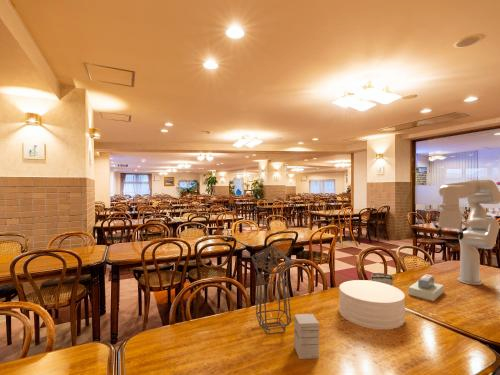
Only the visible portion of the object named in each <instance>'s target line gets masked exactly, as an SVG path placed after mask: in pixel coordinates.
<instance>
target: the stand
mask: <svg viewBox="0 0 500 375" xmlns="http://www.w3.org/2000/svg"><path fill="white" fill-rule="evenodd" d="M443 293H444V284H440V283H435V282H434V286H433V287H431V288H430V289H429V290H428V289H424V288H420V287H418V280H417V281H416V282H415V283H413V284H410V286H409V287H408V295H409V296H414V297H417V298H419V299H420V298H421V299H423V300H429V301H432V302H434V301H435V300H437V299H438V298H439V297H440V296H441V295H442V294H443Z"/></svg>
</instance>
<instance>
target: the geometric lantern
mask: <svg viewBox="0 0 500 375" xmlns="http://www.w3.org/2000/svg"><path fill="white" fill-rule="evenodd" d="M275 252H276V253H275ZM269 254H270V255H269ZM279 257H282V258H283V259H284V261H285V263H284V264H283V263H282V264H279V262H278V260H277V259H278V258H279ZM250 258H251V261H252V264H253V265H254V266H253V267H254V269H255V270H256V273H257V275H256V276H257V277H256V278H257V279H256V301H255V302H256V303H255V304H256V306H255V316H256V318H257V319H256V320H257V321H258V324H259V326H260V327H261V328H263V330H264V332H265V334H267V335H274V334H282V333H286V330H287V329H286V327H287V326H290V324H291V323H292V316H291V314H292V313H291V304H290V292H289V291H290V290H289V280H288V278H289V271H287V274H286V275H287V276H285V275H284V273H285V270H286V268H287V269H289V268H290V267H291V266H292V265H293V264H295V261H294V260H292V259H291V258H290V257H288V256H287V255H286V254H285V253H284V252H282V251H281V250H279V249H278V248H276V247H275V246H274V245H273V246H272V245H271V246H268V247H266V248H264V249H261V250H260V251H258V252H257V253H255V254H253V255H251V256H250ZM267 258H268V259H269V258H270V260H269V261H268V260H267ZM261 262H262V263H261ZM274 262H275V264H274ZM260 264H261V265H260ZM258 267H260V268H261V271H260V272H259V270H258V269H259V268H258ZM265 267H268V268H269V267H270V270H269V269H267V268H265ZM279 267H282V268H281V269H279ZM272 268H275V269H276V271H272ZM264 270H265V271H266V272H268V273H263V272H264ZM281 271H282V272H281ZM273 274H278V281H272V282H267V281H268V279H269V278H270V277H271V276H272V275H273ZM263 275H269V276H267V278H266V280H265V281H263V282H262V279H263V278H262V276H263ZM268 284H278V309H272V310H271V309H270V310H267V304H266V285H268ZM281 284H282V298H283V309H284V310H283V309H281ZM262 289H263V290H262ZM262 292H263V293H262ZM262 294H263V296H262ZM262 297H263V298H264V299H263V298H262ZM262 299H263V300H264V302H263V303H264V304H263V305H264V310H262ZM258 303H259V304H258ZM287 304H288V306H287ZM258 305H259V307H258ZM258 308H259V309H258ZM258 310H259V311H258ZM269 312H270V313H271V312H278V313H277V317H272V318H267V313H269ZM280 312H283V313H281V316H280ZM288 312H289V314H288ZM262 313H264V317H263V316H262ZM284 314H285V317H286V323H285V322H283V321H282V317H283V315H284ZM279 316H280V317H279ZM269 320H276V321H275V322H267V321H269ZM264 322H265V323H264ZM270 324H271V325H270ZM272 324H273V325H272ZM277 329H283V331H276V332H270V330H271V331H272V330H277Z"/></svg>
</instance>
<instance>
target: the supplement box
mask: <svg viewBox="0 0 500 375" xmlns="http://www.w3.org/2000/svg"><path fill="white" fill-rule="evenodd" d="M293 317H294V318H293V321H294V322H293V324H294V325H293V327H294V329H293V331H294V332H293V348H294V349H295V351H296V355H297V356H298V359H299V360H307V359H318V358H320V322H319V321H318V319H317V317H316V316H315V315H314V314H313V313H302V314H301V313H298V314H294V316H293Z"/></svg>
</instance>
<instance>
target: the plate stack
mask: <svg viewBox="0 0 500 375" xmlns="http://www.w3.org/2000/svg"><path fill="white" fill-rule="evenodd" d="M338 287H339V289H338V290H339V292H338V293H339V296H338V302H339V303H338V305H339V307H338V311H339V314H340V315H341V316H342V317H343V318H344V319H345V320H347V321H348V322H351V323H352V324H355V325H357V326H360V327H364V328H367V329H368V328H369V329H373V330H394V328H395V329H398V328H401V327H402V326H404V325H405V320H406V319H405V315H406V314H405V310H406V307H405V305H406V304H405V303H406V301H405V299H406V294H405V293H404V292H403V290H401V289H399V288H398V287H396V286H393V285H392V286H391V285H388V284H385V283H381V282H375V281H372V280H366V279H363V280H362V279H356V280H355V279H353V280H348V281H344V282H342V283H340V284H339V286H338ZM400 326H401V327H400Z"/></svg>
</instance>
